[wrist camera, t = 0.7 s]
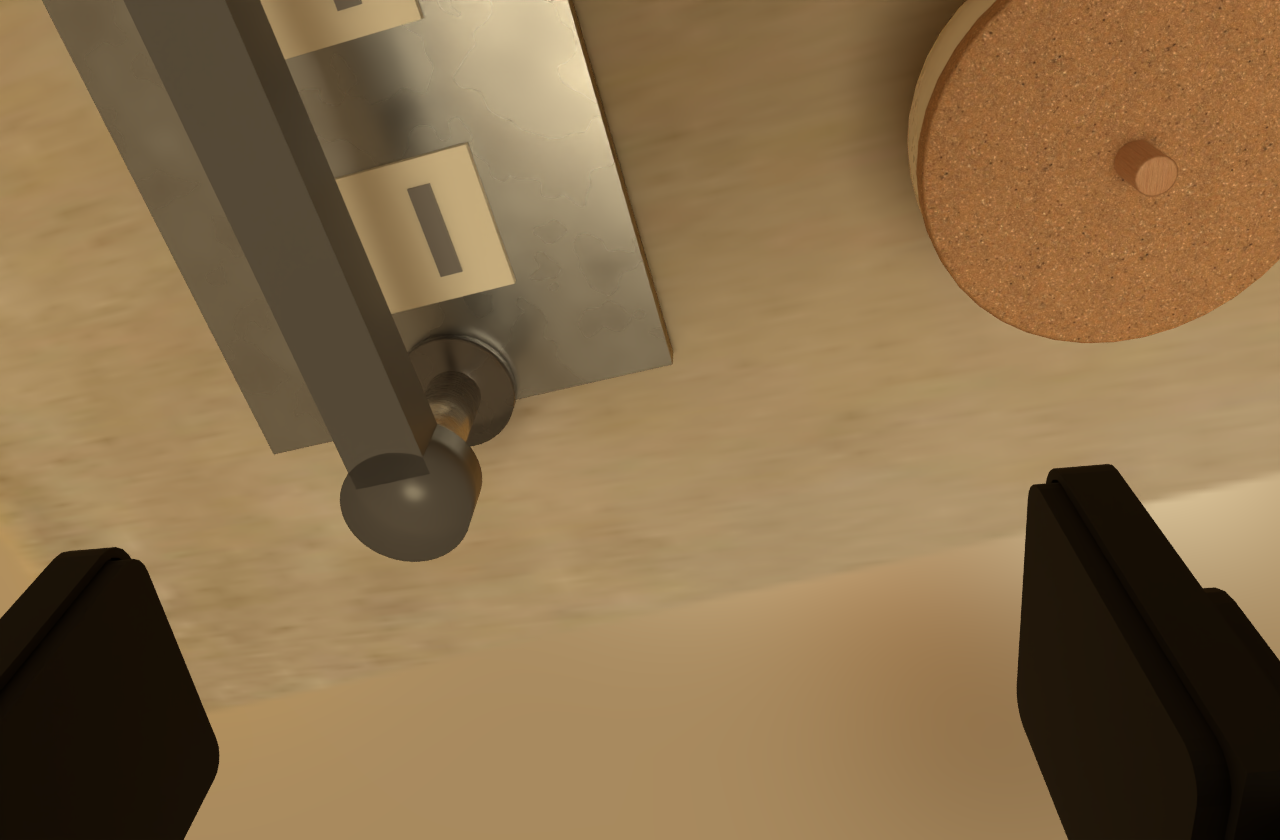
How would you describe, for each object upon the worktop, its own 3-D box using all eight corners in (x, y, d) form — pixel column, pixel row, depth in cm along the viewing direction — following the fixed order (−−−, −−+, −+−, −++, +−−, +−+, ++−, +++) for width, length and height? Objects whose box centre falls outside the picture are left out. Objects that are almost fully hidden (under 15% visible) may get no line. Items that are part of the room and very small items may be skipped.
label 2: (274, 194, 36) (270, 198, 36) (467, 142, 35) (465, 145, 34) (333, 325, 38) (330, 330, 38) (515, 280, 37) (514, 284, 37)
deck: (10, -100, 33) (-136, -85, 27) (496, -266, 30) (448, -288, 24) (295, 466, 42) (232, 566, 37) (681, 380, 40) (678, 473, 34)
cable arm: (499, 510, 35) (488, 549, 33) (386, 534, 35) (369, 573, 33) (223, -170, 25) (187, -169, 24) (78, -120, 26) (31, -117, 24)
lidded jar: (882, 266, 37) (933, 390, 29) (873, -64, 32) (933, -27, 24) (1200, 232, 36) (1347, 350, 28) (1244, -117, 31) (1440, -96, 23)
